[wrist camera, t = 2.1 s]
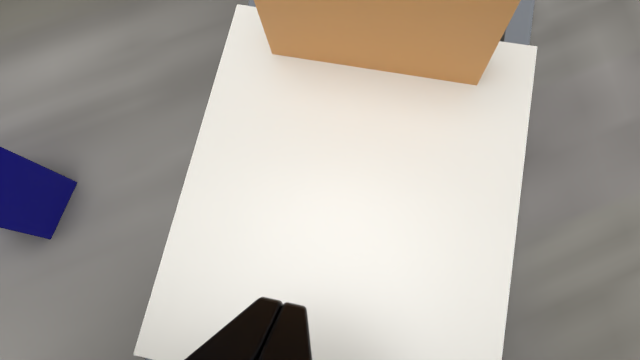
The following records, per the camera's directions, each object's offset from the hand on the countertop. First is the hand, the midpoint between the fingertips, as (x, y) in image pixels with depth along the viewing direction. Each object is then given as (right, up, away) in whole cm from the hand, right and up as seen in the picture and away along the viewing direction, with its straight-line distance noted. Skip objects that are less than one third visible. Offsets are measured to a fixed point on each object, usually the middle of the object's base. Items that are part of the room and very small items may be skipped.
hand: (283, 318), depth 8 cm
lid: (+2, +2, +9) cm, 10 cm away
